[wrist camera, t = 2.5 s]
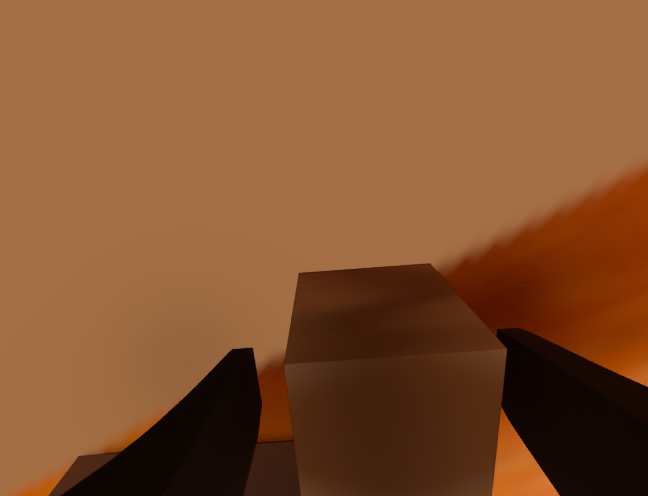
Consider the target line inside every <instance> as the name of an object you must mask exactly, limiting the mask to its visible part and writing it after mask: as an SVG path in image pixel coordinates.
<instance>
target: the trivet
mask: <svg viewBox="0 0 648 496" xmlns="http://www.w3.org/2000/svg"><path fill="white" fill-rule="evenodd" d="M118 454H119V453H116V454H101V455H87V456H79V457H78V458H77V459H76V460H75V462H74V463H73V464H72V466H71V467H70V468H69V470H68V471H67V472H66V474H65V475H64V476H63V477H62V479H61V480H60V481H59V483H58V484H57V485H56V487H55V488H54V489H53V491H52V492H51V493H50V494H49V496H60V495H62V494H63V493H65V492H66V491H67V490H69V489H70V488H72V487H73V486H75V485H76V484H77V483H79V482H80V481H82V480H83V479H84V478H86V477H87V476H89V475H90V474H92V473H93V472H94V471H96V470H97V469H99V468H100V467H102V466H103V465H104V464H106V463H107V462H109V461H110V460H111V459H113V458H114V457H115V456H117V455H118ZM244 496H301V492H300V484H299V476H298V469H297V461H296V453H295V446H294V441H288V442H274V443H259V444H256V447H255V451H254V456H253V460H252V464H251V468H250V472H249V476H248V480H247V484H246V488H245V492H244Z"/></svg>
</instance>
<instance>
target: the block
mask: <svg viewBox="0 0 648 496" xmlns="http://www.w3.org/2000/svg"><path fill="white" fill-rule="evenodd" d="M506 355H507V348H506V347H505V346H504V345H503V344H502V343H501V342H500V340H499V339H498V338H497V337H496V336H495V335H494V334H493V333H492V332H491V331H490V329H489V328H488V327H487V326H486V325H485V324H484V323H483V322H482V321H481V319H480V318H479V317H478V316H477V315H476V314H475V313H474V312H473V311H472V309H471V308H470V307H469V306H468V305H467V304H466V303H465V302H464V301H463V299H462V298H461V297H460V296H459V295H458V294H457V293H456V292H455V291H454V289H453V288H452V287H451V286H450V285H449V284H448V283H447V282H446V281H445V280H444V278H443V277H442V276H441V275H440V274H439V273H438V272H437V271H436V270H435V268H434V267H433V266H432V265H431V264H430V263H426V264H413V265H399V266H385V267H372V268H358V269H344V270H331V271H318V272H303V273H299V276H298V282H297V288H296V294H295V300H294V306H293V313H292V318H291V325H290V331H289V337H288V343H287V349H286V355H285V361H284V369H285V376H286V384H287V392H288V399H289V407H290V415H291V422H292V430H293V438H294V446H295V453H296V461H297V469H298V476H299V484H300V492H301V496H492V489H493V479H494V470H495V460H496V451H497V441H498V432H499V422H500V412H501V403H502V393H503V384H504V374H505V364H506Z"/></svg>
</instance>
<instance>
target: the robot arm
mask: <svg viewBox="0 0 648 496" xmlns="http://www.w3.org/2000/svg"><path fill="white" fill-rule="evenodd" d="M497 338H498V339H499V340H500V342H501V343H502V344H503V345H504V346H505V347H506V348H507V355H506V364H505V374H504V384H503V393H502V403H501V406H502V408H503V410H504V412H505V414H506V416H507V418H508V419H509V421H510V423H511V424H512V426H513V427H514V429H515V430H516V432H517V433H518V435H519V436H520V438H521V439H522V441H523V442H524V444H525V445H526V447H527V448H528V450H529V451H530V453H531V454H532V456H533V457H534V458H535V460H536V461H537V463H538V464H539V466H540V467H541V469H542V470H543V472H544V473H545V475H546V476H547V478H548V479H549V480H550V482H551V483H552V485H553V486H554V488H555V489H556V491H557V492H558V494H559V495H560V496H648V387H647V386H645V385H642V384H640V383H638V382H635V381H633V380H631V379H628V378H626V377H624V376H622V375H619V374H617V373H615V372H613V371H611V370H608V369H606V368H604V367H602V366H600V365H598V364H596V363H593V362H591V361H589V360H587V359H585V358H583V357H581V356H579V355H577V354H575V353H573V352H570V351H568V350H566V349H564V348H562V347H560V346H558V345H556V344H554V343H552V342H550V341H548V340H545V339H543V338H541V337H539V336H537V335H535V334H532V333H530V332H528V331H525V330H523V329H520V328H509V329H497ZM261 408H262V401H261V395H260V389H259V383H258V376H257V370H256V364H255V358H254V352H253V348H242V349H232V350H231V351H230V352H229V353H228V354H227V355H226V356H225V357H224V358H223V359H222V360H221V361H220V362H219V363H218V364H217V365H216V366H215V367H214V369H212V371H210V372H209V373H208V375H207V376H206V377H205V378H204V379H203V380H202V381H201V382H200V383H199V384H198V385H197V386H196V387H195V388H194V389H193V390H192V391H191V392H190V393H189V394H188V395H187V396H185V397H184V398H183V399H182V400H181V401H180V402H179V403H178V404H177V405H176V406H175V407H173V408H172V409H171V410H170V411H169V412H168V413H167V414H166V415H165V416H164V417H163V418H161V419H160V420H159V421H158V422H157V423H156V424H155V425H154V426H152V427H151V428H150V429H149V430H148V431H147V432H145V433H144V434H143V435H142V436H141V437H139V438H138V439H137V440H136V441H134V442H133V443H132V444H131V445H129V446H128V447H127V448H125V449H124V450H123V451H122V452H120V453H119V454H118V455H117V456H115V457H114V458H113V459H111V460H110V461H109V462H107V463H106V464H104V465H103V466H102V467H100V468H99V469H97V470H96V471H94V472H93V473H92V474H90V475H89V476H87V477H86V478H84V479H83V480H82V481H80V482H79V483H77V484H76V485H75V486H73V487H72V488H70V489H69V490H67V491H66V492H65V493H63V494H62V495H60V496H244V492H245V488H246V484H247V480H248V476H249V472H250V468H251V464H252V460H253V456H254V451H255V447H256V443H257V439H258V432H259V425H260V416H261Z"/></svg>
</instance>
